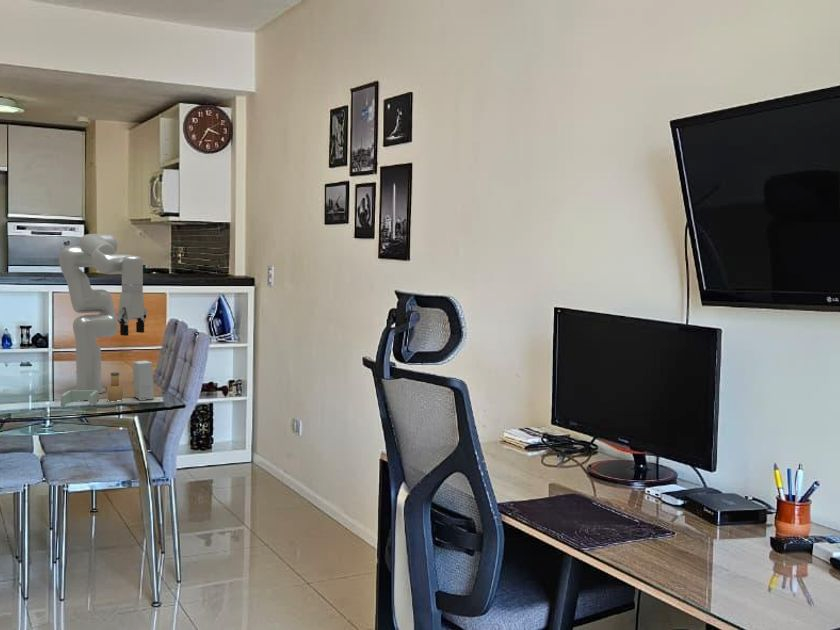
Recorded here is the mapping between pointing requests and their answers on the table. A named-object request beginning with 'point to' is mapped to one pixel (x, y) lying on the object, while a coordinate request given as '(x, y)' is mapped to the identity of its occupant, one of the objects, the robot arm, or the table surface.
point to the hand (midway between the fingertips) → (132, 333)
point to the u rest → (80, 396)
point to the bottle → (115, 388)
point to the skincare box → (143, 380)
